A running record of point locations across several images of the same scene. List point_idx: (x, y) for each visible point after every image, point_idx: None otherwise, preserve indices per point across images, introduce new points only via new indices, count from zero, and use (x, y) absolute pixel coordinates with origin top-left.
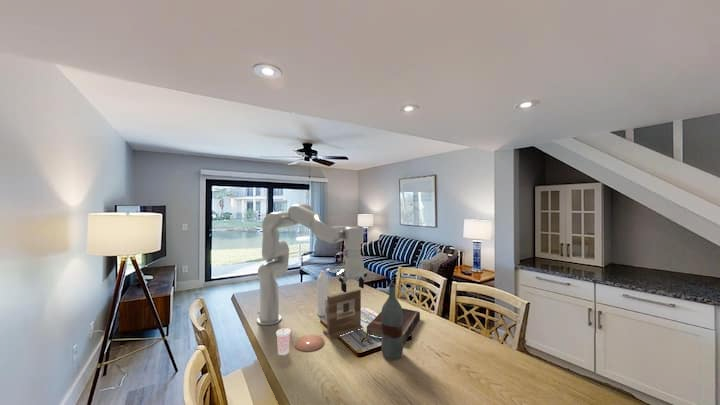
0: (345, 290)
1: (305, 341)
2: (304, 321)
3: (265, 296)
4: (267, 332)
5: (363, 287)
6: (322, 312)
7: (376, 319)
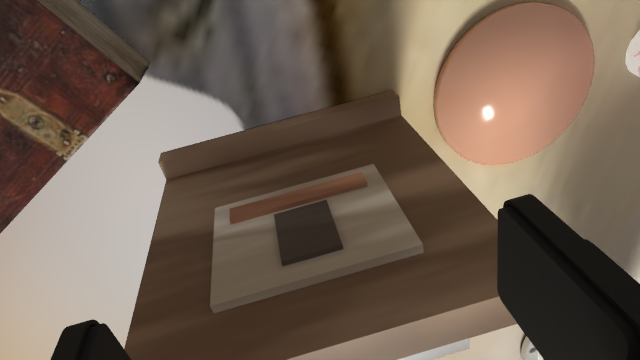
0: (544, 212)
1: (532, 102)
2: None
3: None
4: (619, 244)
5: (68, 332)
6: None
7: (26, 170)
